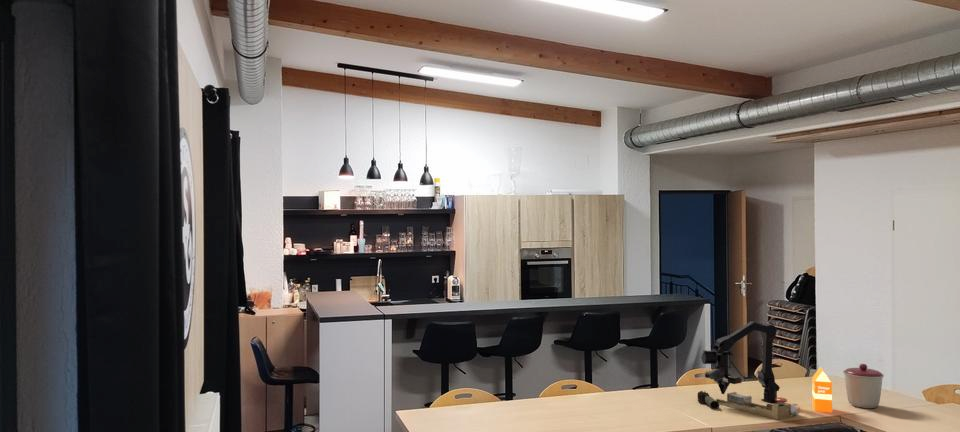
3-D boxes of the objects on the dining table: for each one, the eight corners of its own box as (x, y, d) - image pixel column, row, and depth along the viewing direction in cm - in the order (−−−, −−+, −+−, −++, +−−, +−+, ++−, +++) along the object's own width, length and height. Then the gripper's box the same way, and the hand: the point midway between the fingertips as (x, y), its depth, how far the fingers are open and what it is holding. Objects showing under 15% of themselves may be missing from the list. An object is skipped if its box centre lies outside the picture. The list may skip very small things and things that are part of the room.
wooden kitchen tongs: (736, 398, 355) (736, 381, 355) (800, 415, 324) (800, 397, 324) (716, 403, 347) (716, 385, 347) (779, 420, 316) (779, 401, 316)
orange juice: (829, 407, 338) (829, 367, 338) (832, 412, 329) (832, 371, 330) (812, 406, 340) (811, 366, 341) (814, 411, 332) (814, 370, 332)
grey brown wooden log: (719, 409, 336) (719, 398, 336) (706, 409, 336) (706, 398, 336) (706, 399, 353) (706, 389, 353) (693, 400, 353) (693, 389, 353)
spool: (734, 403, 346) (734, 391, 347) (751, 407, 338) (751, 396, 338) (727, 404, 343) (727, 393, 343) (744, 409, 335) (744, 397, 335)
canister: (888, 405, 342) (888, 363, 342) (879, 412, 329) (879, 369, 329) (848, 399, 354) (848, 358, 354) (838, 406, 341) (838, 364, 341)
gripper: (697, 362, 353) (697, 392, 353) (727, 368, 337) (727, 400, 337) (712, 360, 359) (712, 389, 359) (742, 366, 343) (742, 397, 343)
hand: (722, 394), depth 349 cm, fingers closed
